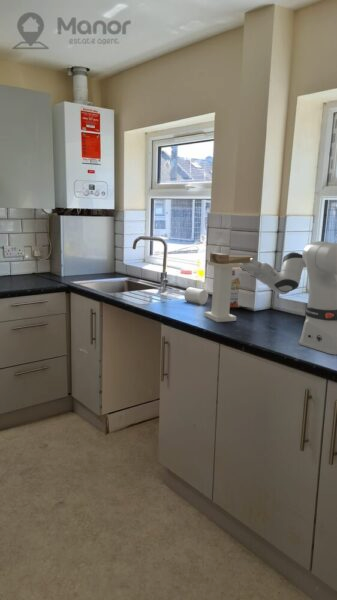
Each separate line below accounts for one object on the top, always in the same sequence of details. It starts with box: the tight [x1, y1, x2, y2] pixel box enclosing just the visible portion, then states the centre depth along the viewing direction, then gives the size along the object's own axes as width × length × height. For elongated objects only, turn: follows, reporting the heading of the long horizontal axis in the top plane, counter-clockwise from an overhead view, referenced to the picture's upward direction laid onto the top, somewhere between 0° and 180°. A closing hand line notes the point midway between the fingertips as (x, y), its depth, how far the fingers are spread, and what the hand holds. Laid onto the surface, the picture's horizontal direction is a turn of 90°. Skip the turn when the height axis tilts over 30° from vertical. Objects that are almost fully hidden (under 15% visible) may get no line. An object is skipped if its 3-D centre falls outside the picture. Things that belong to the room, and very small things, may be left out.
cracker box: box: [230, 268, 242, 308], centre depth 236 cm, size 14×6×21 cm, turn 105°
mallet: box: [209, 252, 254, 264], centre depth 207 cm, size 8×20×4 cm, turn 115°
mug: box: [184, 286, 209, 305], centre depth 244 cm, size 12×10×8 cm
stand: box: [203, 260, 241, 323], centre depth 207 cm, size 12×10×26 cm
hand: (244, 258), depth 209 cm, fingers open, 8 cm apart
